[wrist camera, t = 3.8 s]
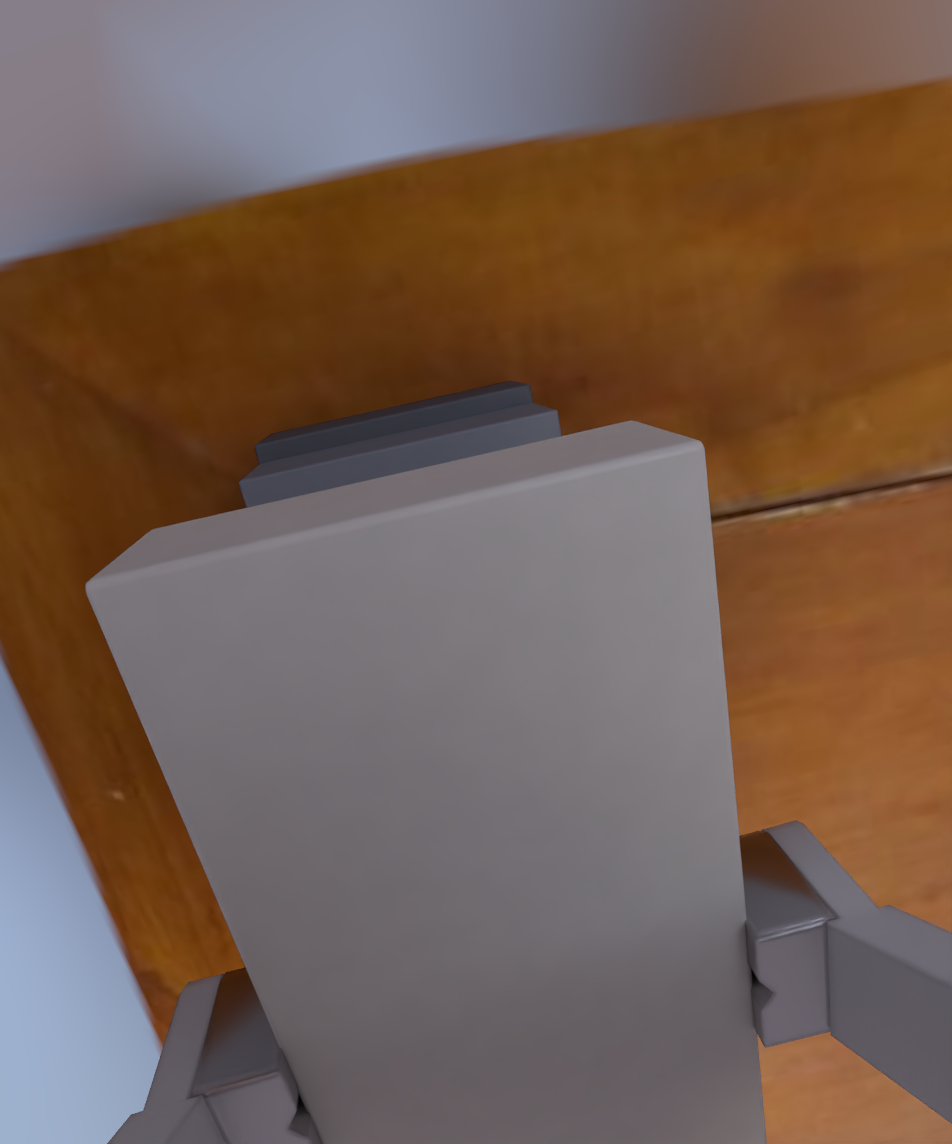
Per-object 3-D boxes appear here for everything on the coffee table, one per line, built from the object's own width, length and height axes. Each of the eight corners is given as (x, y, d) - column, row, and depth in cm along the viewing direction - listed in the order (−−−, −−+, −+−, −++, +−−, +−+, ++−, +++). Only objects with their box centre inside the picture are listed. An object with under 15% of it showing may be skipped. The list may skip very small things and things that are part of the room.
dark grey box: (269, 434, 16) (230, 459, 12) (512, 380, 17) (554, 387, 13) (406, 892, 21) (411, 1025, 17) (596, 841, 21) (648, 960, 17)
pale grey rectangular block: (145, 528, 7) (77, 584, 6) (636, 417, 8) (707, 438, 6) (419, 1247, 12) (426, 1399, 10) (725, 1156, 12) (782, 1289, 10)
